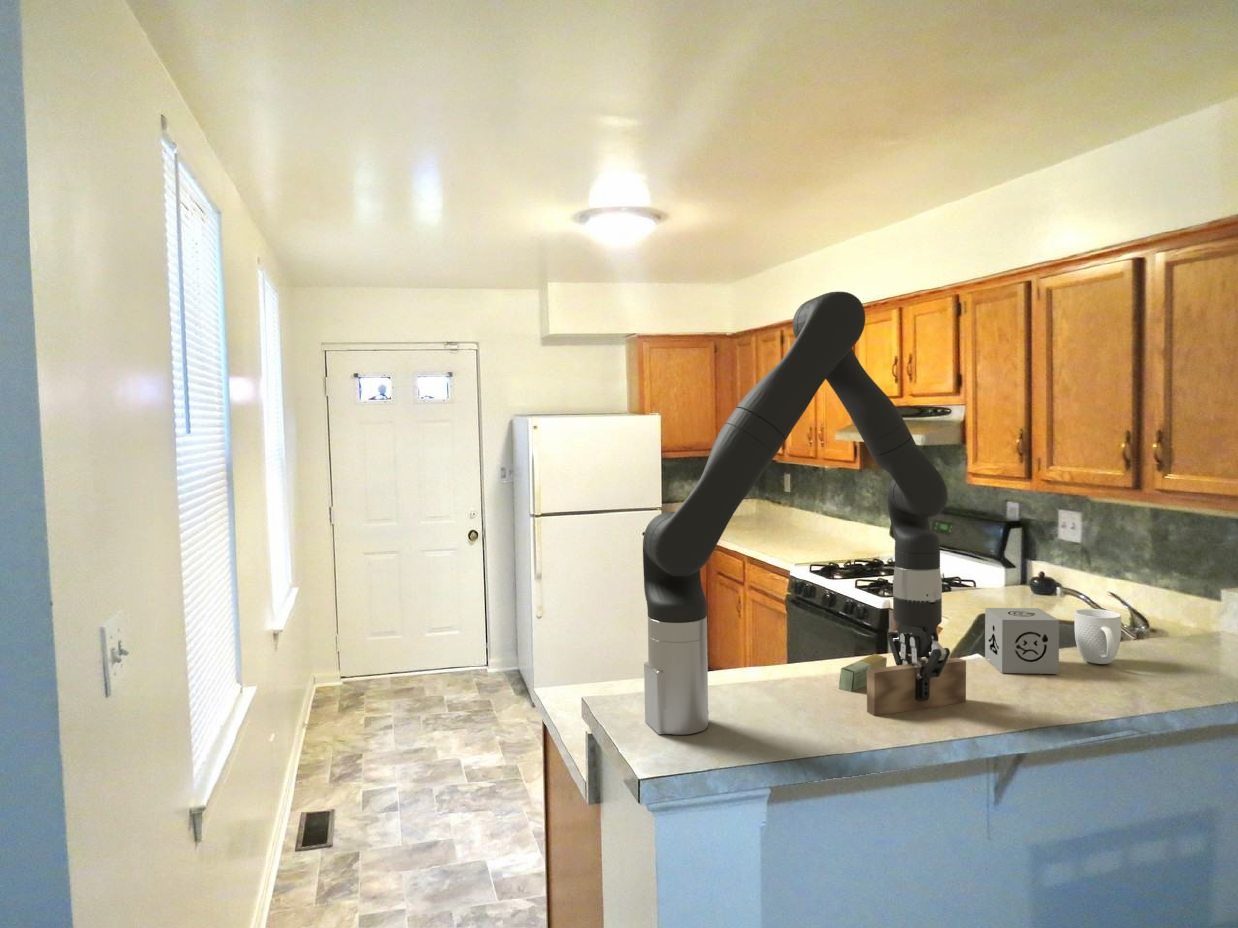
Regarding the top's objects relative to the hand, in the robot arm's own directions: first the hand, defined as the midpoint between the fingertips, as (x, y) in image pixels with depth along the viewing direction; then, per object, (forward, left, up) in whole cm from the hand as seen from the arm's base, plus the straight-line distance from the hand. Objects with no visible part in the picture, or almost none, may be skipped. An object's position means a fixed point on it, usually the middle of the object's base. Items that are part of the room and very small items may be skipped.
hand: (917, 697), depth 139 cm
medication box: (-1, +14, -2) cm, 14 cm away
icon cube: (+33, +12, -2) cm, 35 cm away
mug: (+48, +8, -2) cm, 49 cm away
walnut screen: (0, 0, -2) cm, 2 cm away
